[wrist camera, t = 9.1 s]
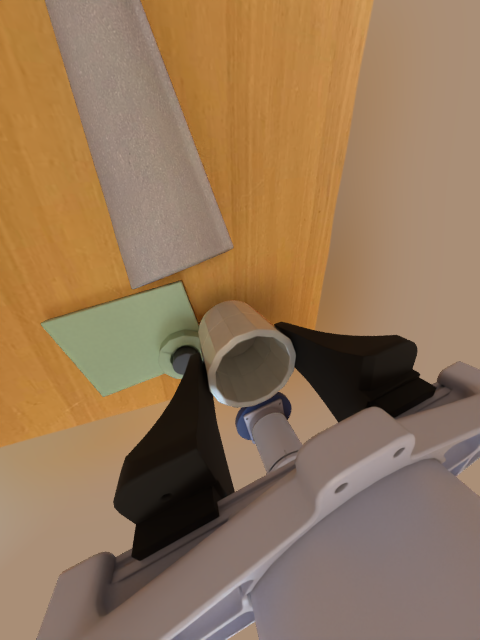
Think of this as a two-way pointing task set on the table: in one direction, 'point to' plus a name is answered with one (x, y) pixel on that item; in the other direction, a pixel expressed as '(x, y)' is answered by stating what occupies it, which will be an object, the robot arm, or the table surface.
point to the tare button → (182, 358)
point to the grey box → (138, 139)
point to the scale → (128, 337)
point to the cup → (243, 354)
